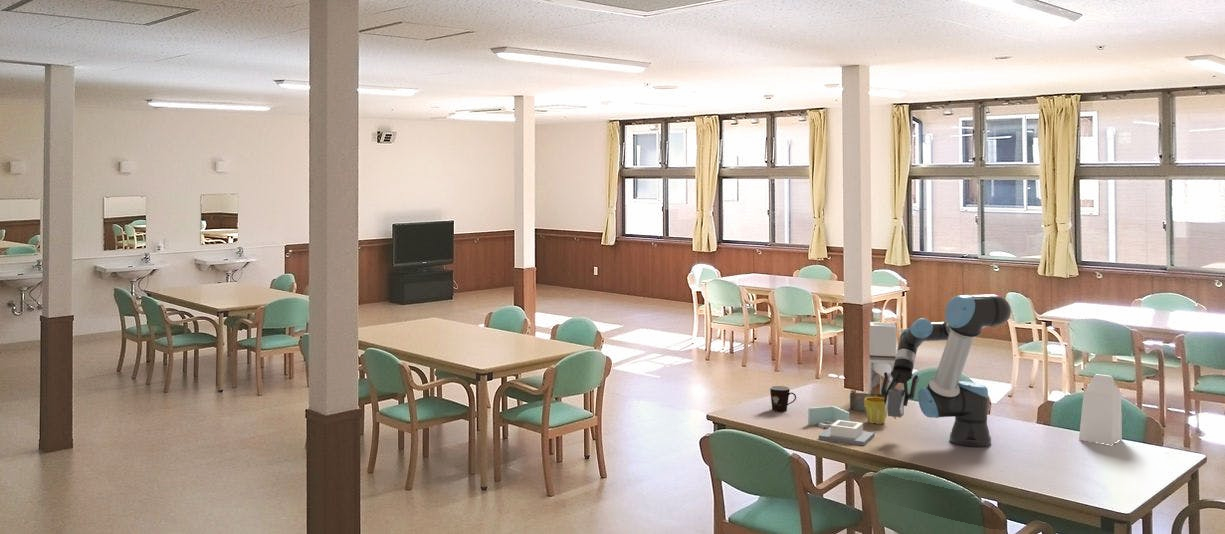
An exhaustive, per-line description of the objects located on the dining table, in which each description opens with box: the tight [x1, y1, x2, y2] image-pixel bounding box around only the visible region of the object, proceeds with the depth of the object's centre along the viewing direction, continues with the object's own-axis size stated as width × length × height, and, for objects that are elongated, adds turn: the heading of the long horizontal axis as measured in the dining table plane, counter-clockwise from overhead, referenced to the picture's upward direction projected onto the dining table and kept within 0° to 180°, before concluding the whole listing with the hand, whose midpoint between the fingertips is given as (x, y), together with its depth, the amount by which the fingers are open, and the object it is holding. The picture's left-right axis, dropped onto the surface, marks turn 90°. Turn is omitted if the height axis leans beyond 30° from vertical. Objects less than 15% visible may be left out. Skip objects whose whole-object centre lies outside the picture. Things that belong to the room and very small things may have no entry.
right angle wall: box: [807, 405, 851, 429], centre depth 393 cm, size 12×12×8 cm
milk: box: [1078, 373, 1123, 445], centre depth 372 cm, size 12×12×26 cm
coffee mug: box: [769, 385, 797, 413], centre depth 420 cm, size 12×9×10 cm
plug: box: [887, 388, 905, 420], centre depth 375 cm, size 5×5×11 cm
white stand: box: [867, 321, 897, 398], centre depth 442 cm, size 11×11×35 cm
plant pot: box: [864, 397, 888, 425], centre depth 400 cm, size 10×10×10 cm
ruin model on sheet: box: [849, 389, 877, 412], centre depth 421 cm, size 11×3×10 cm, turn 74°
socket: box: [818, 420, 875, 447], centre depth 377 cm, size 18×15×6 cm
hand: (893, 410), depth 372 cm, fingers closed on plug, 5 cm apart
